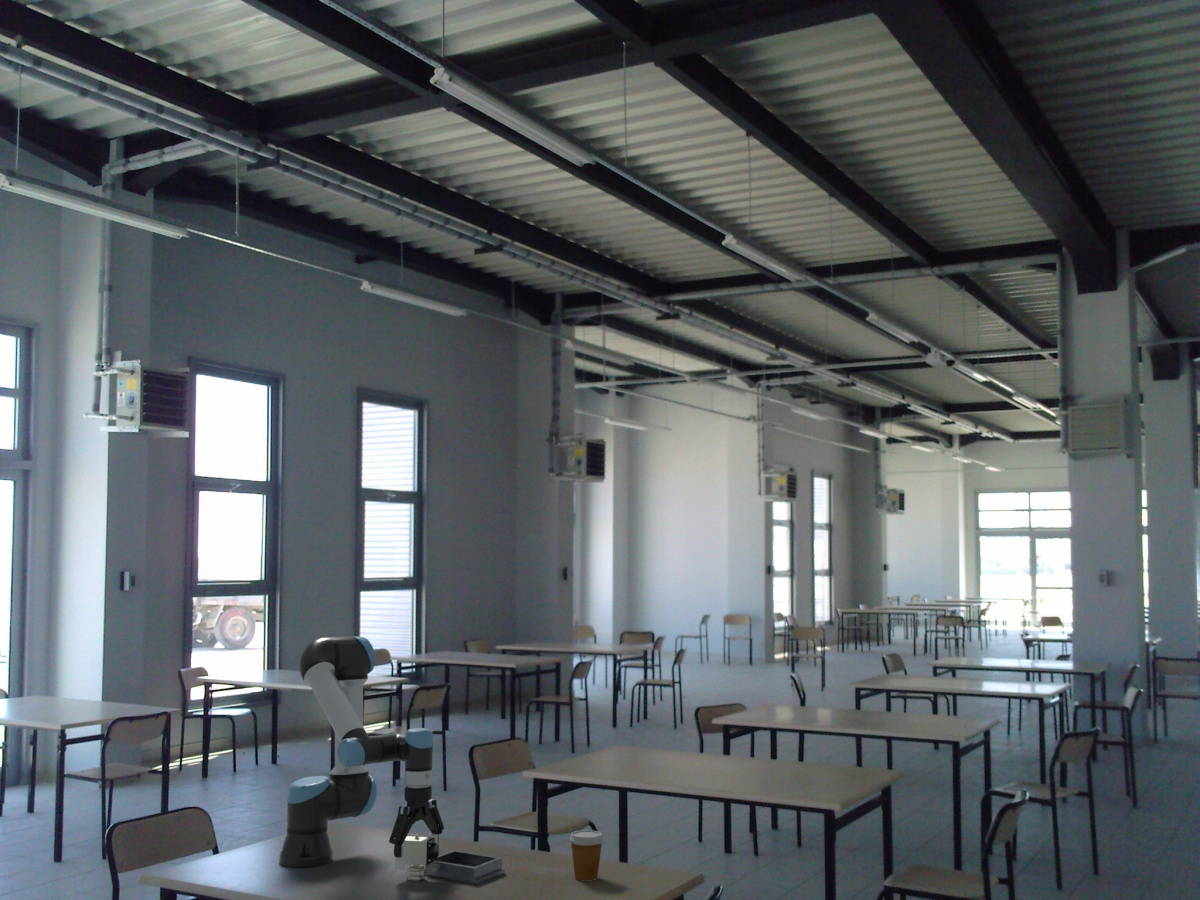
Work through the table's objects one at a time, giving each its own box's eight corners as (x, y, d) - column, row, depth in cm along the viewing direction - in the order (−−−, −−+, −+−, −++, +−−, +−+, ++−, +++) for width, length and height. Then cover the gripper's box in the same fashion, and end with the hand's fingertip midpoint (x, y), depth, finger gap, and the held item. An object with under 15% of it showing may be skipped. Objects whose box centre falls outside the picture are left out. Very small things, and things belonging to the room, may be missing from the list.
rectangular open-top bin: (422, 874, 301) (422, 859, 302) (451, 863, 312) (451, 849, 313) (477, 884, 292) (477, 869, 292) (504, 873, 303) (504, 858, 303)
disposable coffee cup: (596, 884, 292) (596, 839, 294) (564, 881, 295) (564, 836, 297) (608, 875, 301) (608, 831, 302) (576, 872, 304) (576, 828, 306)
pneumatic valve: (432, 883, 293) (433, 837, 294) (392, 880, 295) (393, 835, 297) (439, 877, 298) (440, 833, 300) (400, 875, 300) (401, 830, 302)
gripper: (398, 793, 287) (397, 875, 284) (456, 779, 309) (455, 855, 306) (377, 791, 290) (375, 872, 287) (436, 777, 312) (434, 852, 309)
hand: (416, 864), depth 297 cm, fingers open, 14 cm apart
